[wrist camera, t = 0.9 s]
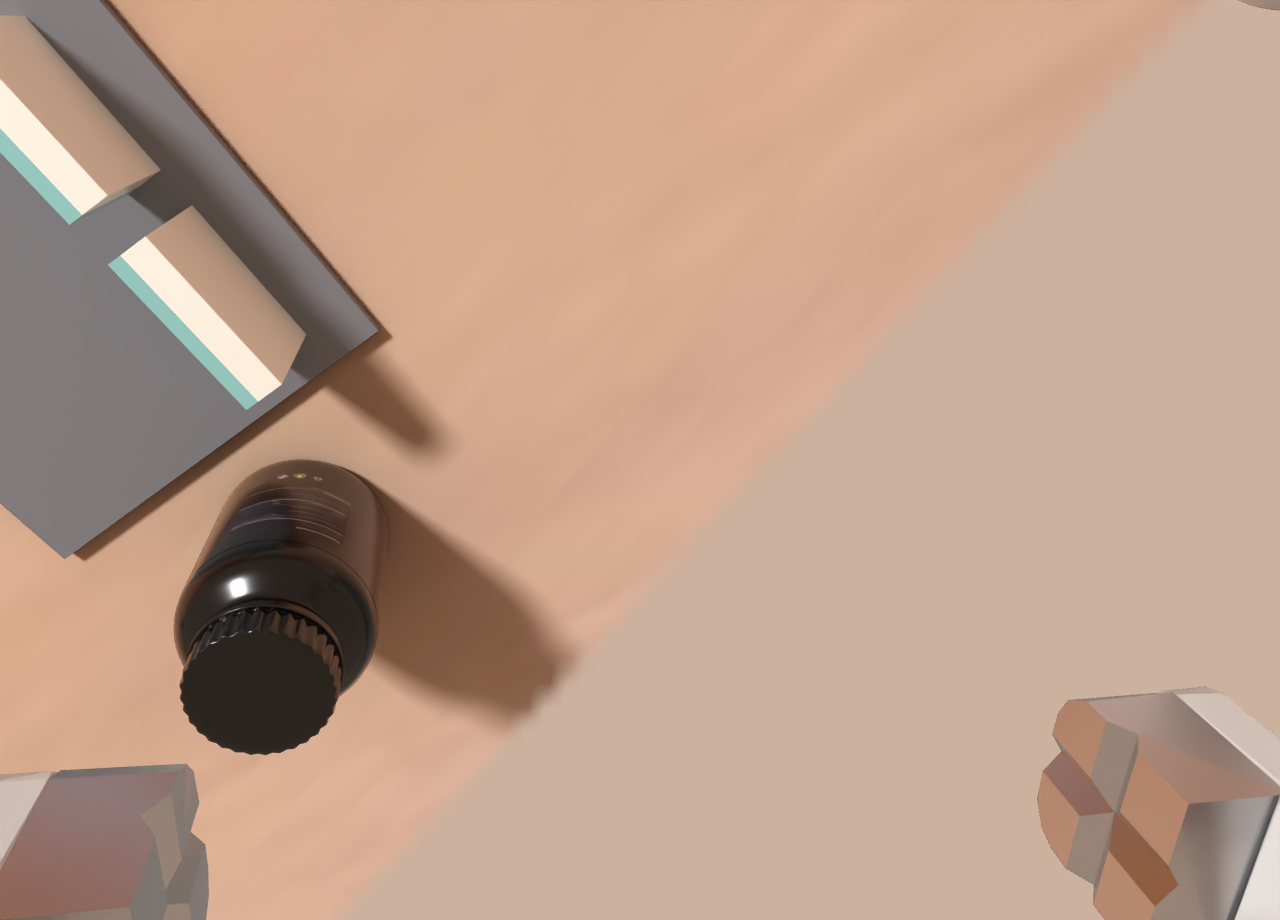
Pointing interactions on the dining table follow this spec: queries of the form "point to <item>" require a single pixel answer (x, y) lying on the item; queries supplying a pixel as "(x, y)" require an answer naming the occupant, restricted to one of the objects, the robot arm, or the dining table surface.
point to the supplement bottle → (281, 606)
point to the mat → (132, 302)
